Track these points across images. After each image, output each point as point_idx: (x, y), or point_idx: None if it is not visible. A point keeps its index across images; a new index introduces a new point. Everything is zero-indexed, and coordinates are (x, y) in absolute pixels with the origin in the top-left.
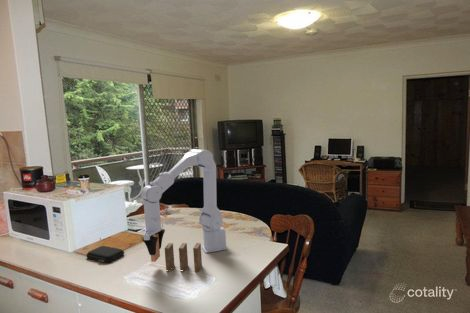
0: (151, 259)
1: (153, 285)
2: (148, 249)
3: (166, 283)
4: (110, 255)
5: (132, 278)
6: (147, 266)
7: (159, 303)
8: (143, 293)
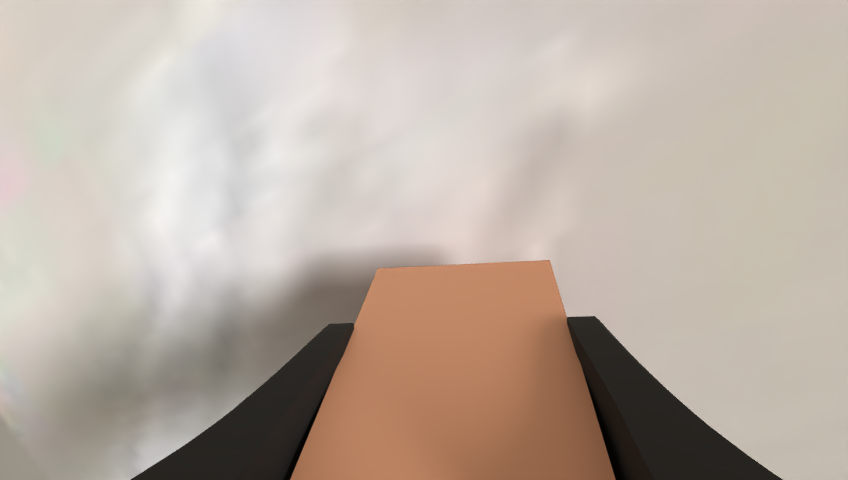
0: (373, 286)
1: (185, 328)
2: (273, 387)
3: (242, 396)
4: None
5: (209, 95)
6: (494, 119)
7: (47, 424)
8: (72, 306)
